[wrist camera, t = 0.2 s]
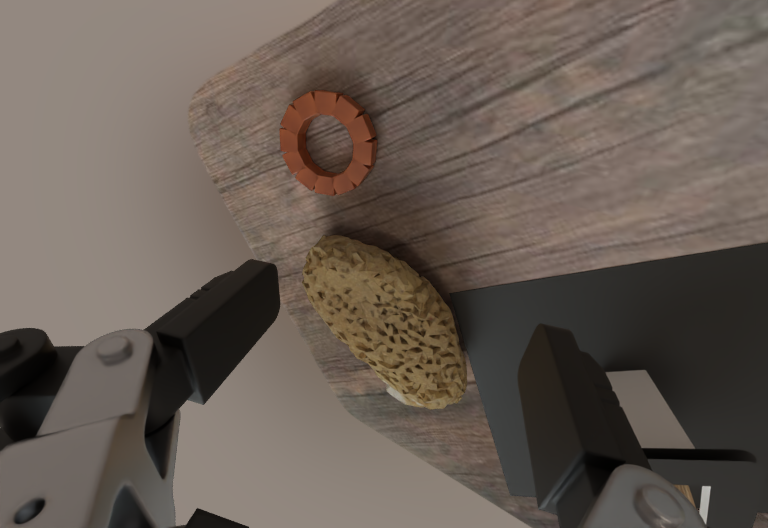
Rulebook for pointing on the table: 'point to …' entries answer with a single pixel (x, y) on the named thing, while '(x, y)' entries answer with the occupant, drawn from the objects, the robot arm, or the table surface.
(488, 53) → the table surface
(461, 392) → the sponge
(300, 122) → the ring
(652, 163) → the table surface
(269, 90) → the table surface
